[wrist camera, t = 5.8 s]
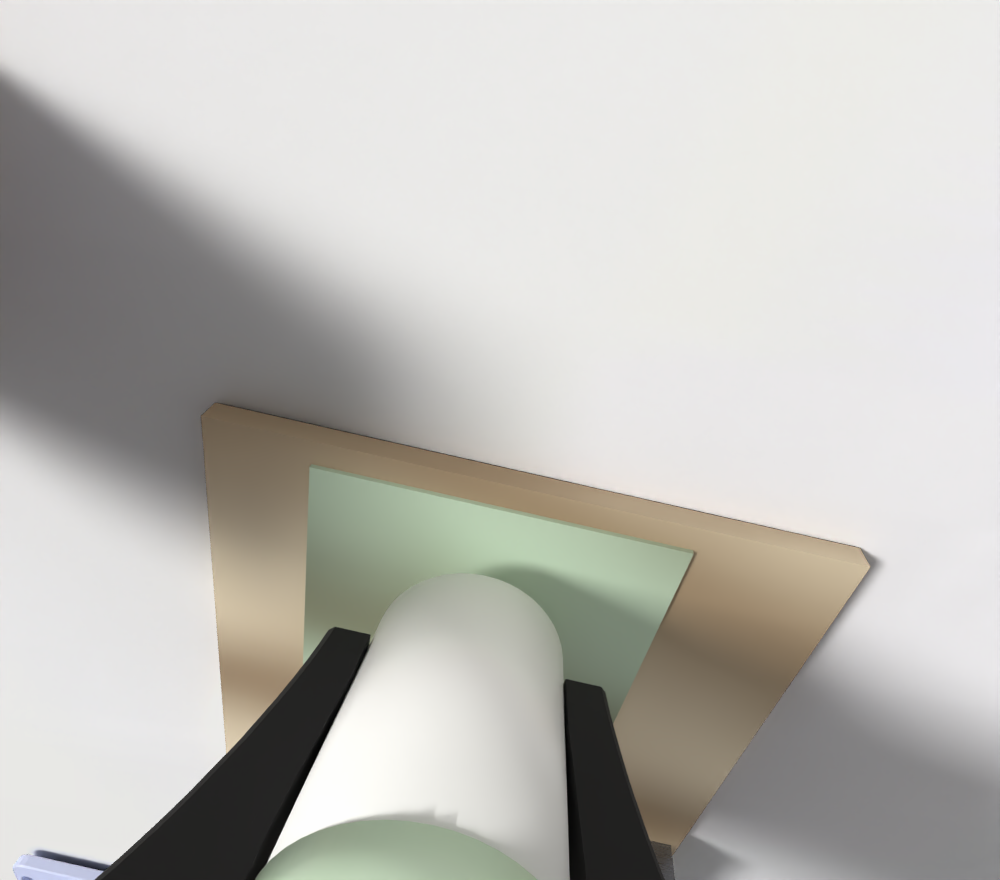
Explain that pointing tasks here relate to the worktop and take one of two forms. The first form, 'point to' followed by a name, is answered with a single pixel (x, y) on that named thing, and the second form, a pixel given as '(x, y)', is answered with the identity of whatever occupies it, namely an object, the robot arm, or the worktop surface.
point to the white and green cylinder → (442, 748)
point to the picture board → (517, 586)
